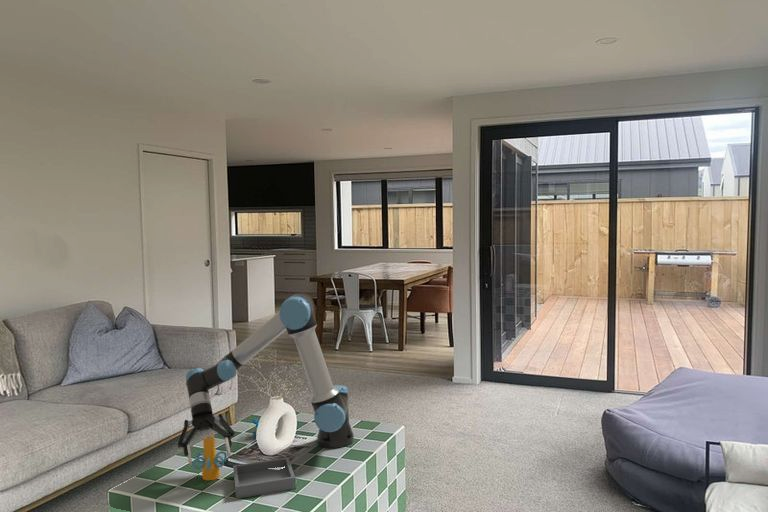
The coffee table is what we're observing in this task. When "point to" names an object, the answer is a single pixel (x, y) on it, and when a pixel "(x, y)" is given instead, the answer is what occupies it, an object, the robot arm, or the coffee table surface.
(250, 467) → the tray
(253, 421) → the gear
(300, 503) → the coffee table surface
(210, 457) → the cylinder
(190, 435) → the robot arm
